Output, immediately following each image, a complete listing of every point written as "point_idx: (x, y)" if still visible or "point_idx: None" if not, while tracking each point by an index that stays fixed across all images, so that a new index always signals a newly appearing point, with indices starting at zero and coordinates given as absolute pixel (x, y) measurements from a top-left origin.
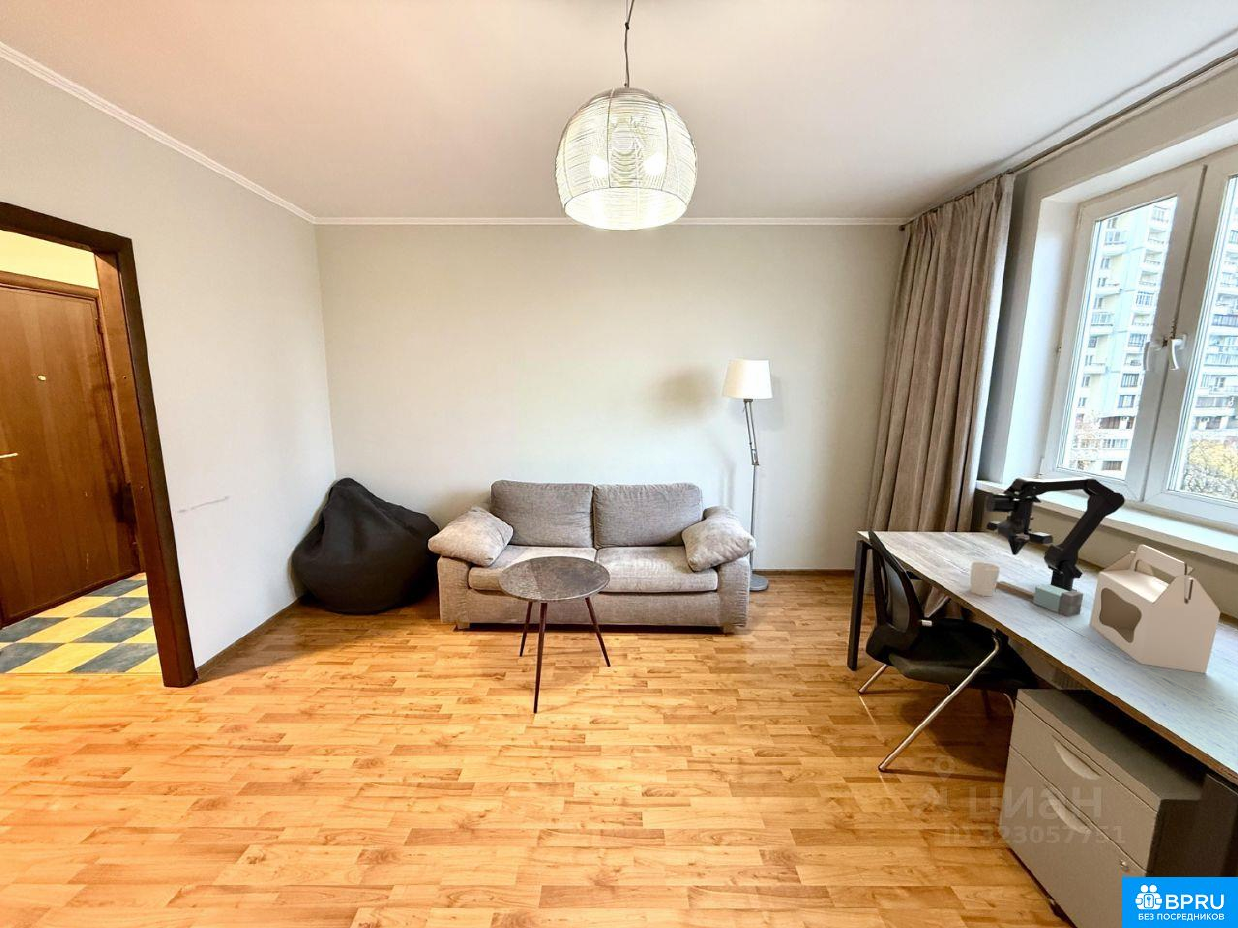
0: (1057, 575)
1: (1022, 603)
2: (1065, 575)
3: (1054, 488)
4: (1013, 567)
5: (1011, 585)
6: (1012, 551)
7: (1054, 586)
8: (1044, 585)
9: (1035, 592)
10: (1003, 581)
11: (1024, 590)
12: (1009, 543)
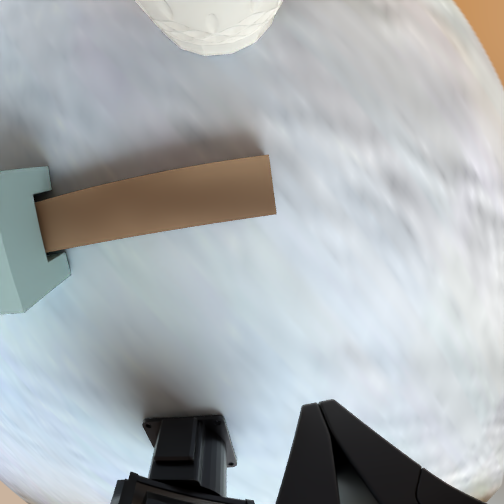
0: (172, 474)
1: (60, 112)
2: (125, 479)
3: None
4: (409, 443)
5: (199, 203)
6: (342, 419)
7: (1, 308)
8: (7, 262)
9: (8, 170)
10: (268, 213)
11: (120, 215)
12: (442, 485)
